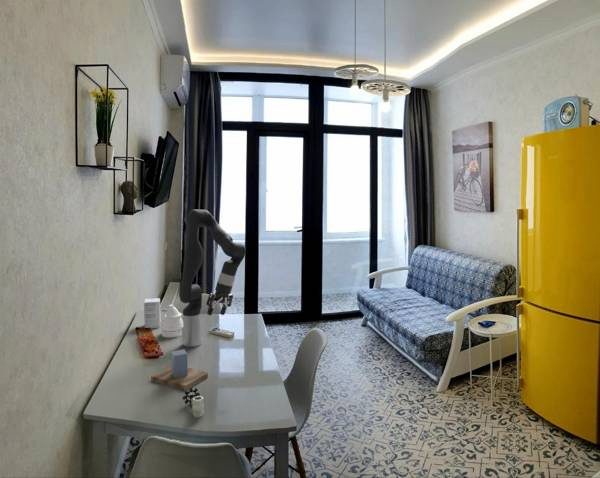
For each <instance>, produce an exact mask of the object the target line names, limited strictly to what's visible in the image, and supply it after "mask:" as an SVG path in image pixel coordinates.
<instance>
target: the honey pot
mask: <svg viewBox="0 0 600 478" xmlns="http://www.w3.org/2000/svg"><path fill="white" fill-rule="evenodd" d="M168 307H169V308H168V310H167V311H166V313H165V314H164V315H163V317H164V319H163V320H162V325H161V336H162V337H163V338H168V339H169V338H178V337H182V327H183V317H182V316H183V313H181V312H179V310H178V308H177V307H175V306H174V304H169V305H168Z"/></svg>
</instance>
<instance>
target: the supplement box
mask: <svg viewBox="0 0 600 478" xmlns="http://www.w3.org/2000/svg"><path fill="white" fill-rule="evenodd" d="M143 314H144V315H143V316H144V318H143V319H144V328H145V327H151V328H150V329H160V328H161V326H162V325H161V324H162V321H161V319H162V316H161V298H160V297H156V298H145V299H144V302H143ZM159 327H160V328H159Z"/></svg>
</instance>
